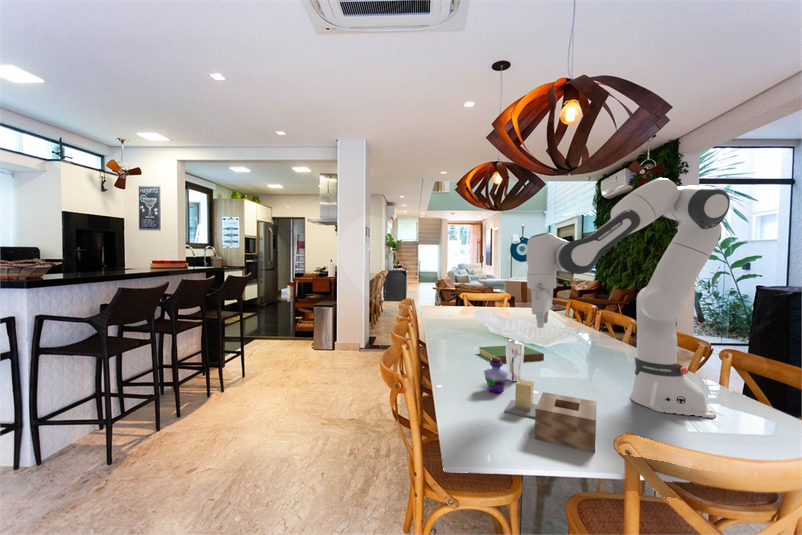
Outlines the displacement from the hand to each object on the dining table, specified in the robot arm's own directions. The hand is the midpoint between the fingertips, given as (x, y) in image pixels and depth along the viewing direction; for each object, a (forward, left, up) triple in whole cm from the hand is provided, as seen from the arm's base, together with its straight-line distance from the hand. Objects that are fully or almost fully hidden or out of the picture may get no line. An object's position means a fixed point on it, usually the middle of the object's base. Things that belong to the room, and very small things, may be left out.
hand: (542, 325), depth 119 cm
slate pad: (+4, +8, -26) cm, 27 cm away
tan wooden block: (+4, +8, -25) cm, 27 cm away
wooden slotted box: (-9, +19, -26) cm, 33 cm away
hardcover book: (+22, -56, -27) cm, 66 cm away
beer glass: (+13, -21, -26) cm, 36 cm away
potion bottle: (+16, -4, -26) cm, 31 cm away
